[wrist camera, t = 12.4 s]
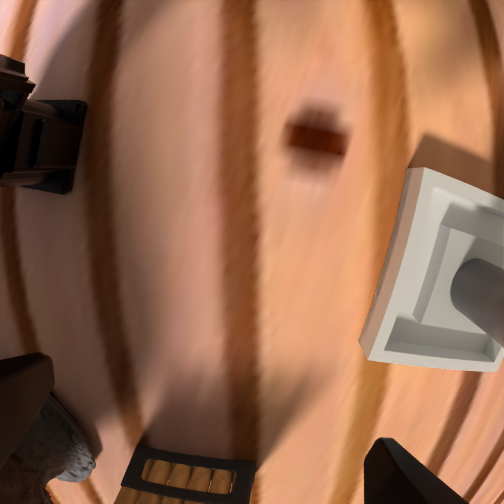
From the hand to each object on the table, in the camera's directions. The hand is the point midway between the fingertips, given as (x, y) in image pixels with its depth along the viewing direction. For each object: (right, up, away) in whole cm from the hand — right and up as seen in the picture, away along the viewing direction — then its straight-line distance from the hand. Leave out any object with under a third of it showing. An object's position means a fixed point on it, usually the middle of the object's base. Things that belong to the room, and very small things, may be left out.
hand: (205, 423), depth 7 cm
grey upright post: (+15, +2, +11) cm, 19 cm away
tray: (+15, +3, +12) cm, 19 cm away
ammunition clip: (-4, -14, +17) cm, 22 cm away
